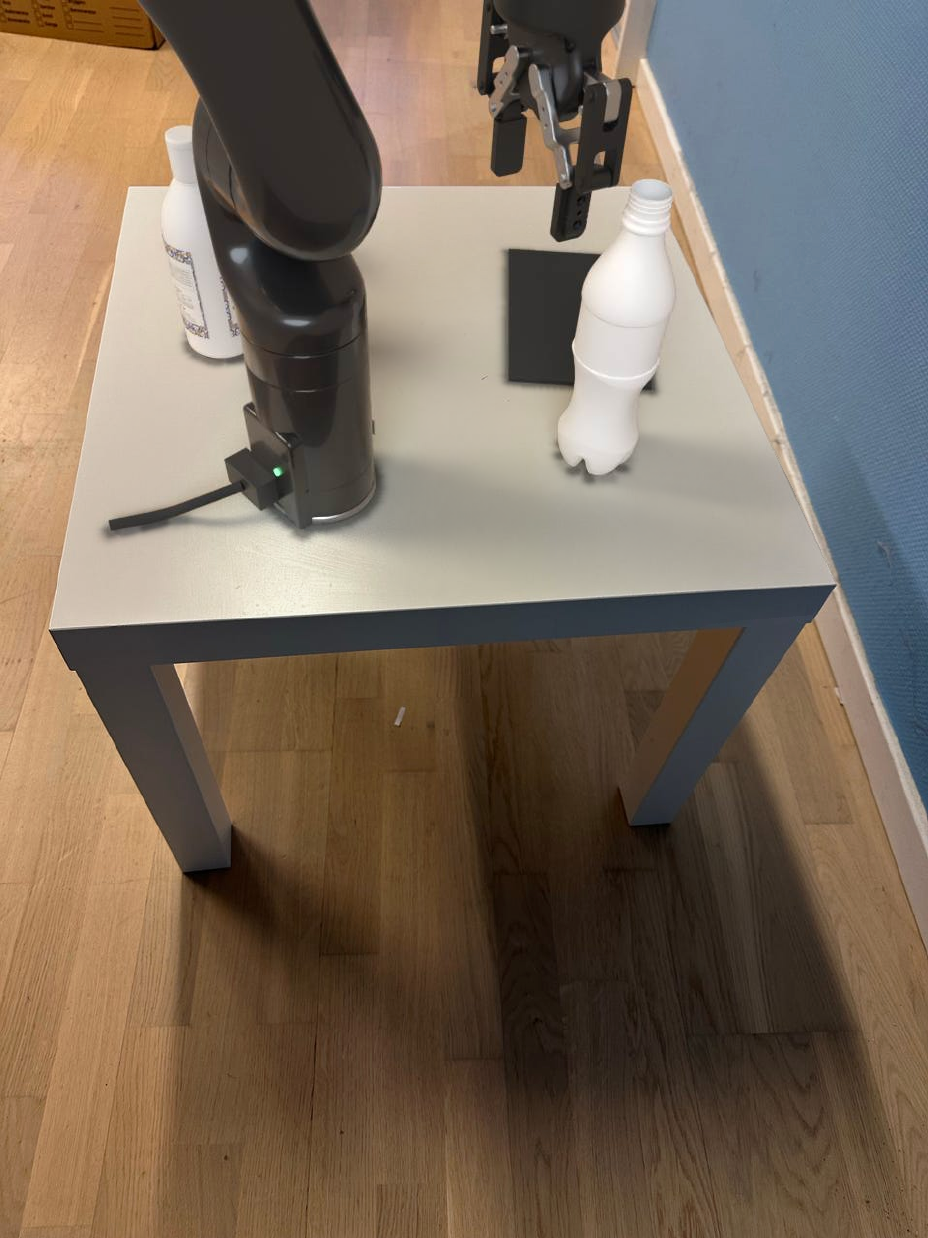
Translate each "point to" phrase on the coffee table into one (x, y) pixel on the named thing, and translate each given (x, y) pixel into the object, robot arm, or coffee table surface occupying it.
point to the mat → (545, 314)
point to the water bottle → (620, 333)
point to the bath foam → (195, 257)
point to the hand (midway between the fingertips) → (535, 203)
